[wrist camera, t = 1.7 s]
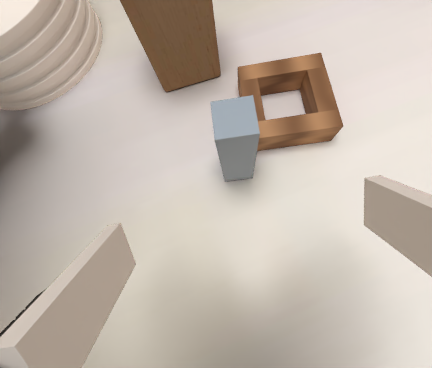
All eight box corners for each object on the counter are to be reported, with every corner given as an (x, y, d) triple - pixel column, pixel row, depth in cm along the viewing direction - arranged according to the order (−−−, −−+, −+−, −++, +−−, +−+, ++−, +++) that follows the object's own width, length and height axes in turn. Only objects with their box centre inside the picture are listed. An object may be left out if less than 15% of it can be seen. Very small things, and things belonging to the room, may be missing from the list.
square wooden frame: (248, 152, 33) (249, 139, 29) (238, 86, 36) (237, 67, 32) (331, 140, 32) (343, 126, 28) (312, 73, 35) (320, 52, 31)
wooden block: (207, 34, 40) (176, -161, 21) (221, 76, 37) (200, -105, 18) (155, 50, 40) (77, -128, 21) (165, 93, 37) (85, -67, 18)
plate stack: (53, -19, 49) (-1, -94, 39) (130, 36, 42) (92, -37, 31) (-50, 62, 46) (-141, 5, 35) (16, 138, 38) (-74, 95, 27)
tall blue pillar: (225, 181, 32) (214, 140, 19) (222, 156, 33) (210, 101, 20) (252, 178, 31) (260, 133, 19) (248, 152, 33) (253, 95, 20)
